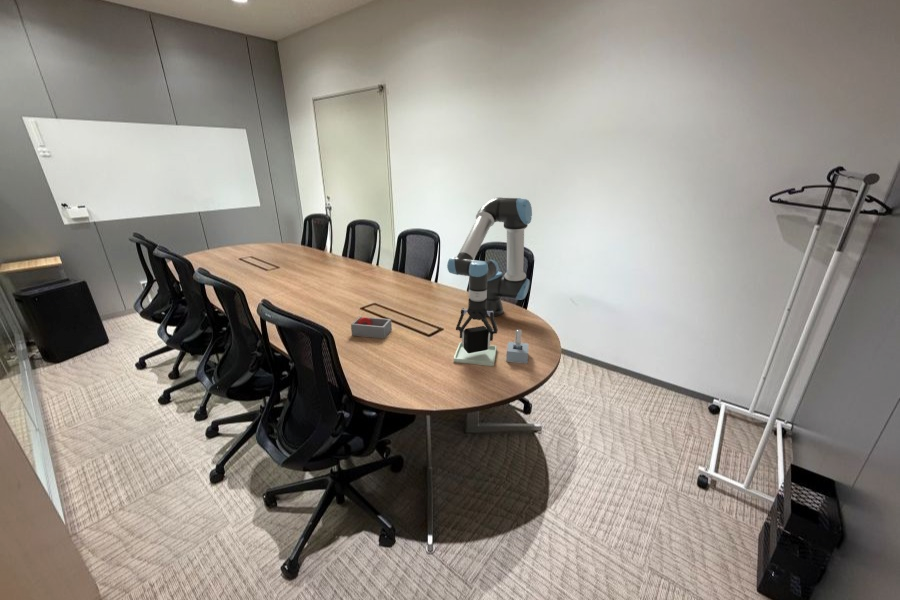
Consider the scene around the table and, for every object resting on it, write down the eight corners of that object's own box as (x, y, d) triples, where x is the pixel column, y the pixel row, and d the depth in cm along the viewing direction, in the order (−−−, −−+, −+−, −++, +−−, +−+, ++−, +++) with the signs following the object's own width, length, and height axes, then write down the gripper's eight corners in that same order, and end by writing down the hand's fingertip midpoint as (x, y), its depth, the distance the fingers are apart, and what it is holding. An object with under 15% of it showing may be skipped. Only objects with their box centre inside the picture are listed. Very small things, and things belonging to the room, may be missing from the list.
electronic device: (463, 349, 160) (463, 328, 157) (484, 345, 164) (484, 325, 160) (467, 353, 157) (467, 332, 153) (488, 349, 160) (489, 329, 156)
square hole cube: (507, 351, 165) (507, 341, 163) (527, 353, 163) (528, 343, 161) (506, 361, 156) (506, 351, 155) (527, 363, 155) (528, 353, 153)
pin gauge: (514, 353, 161) (516, 329, 156) (520, 354, 160) (521, 329, 156) (514, 356, 158) (515, 331, 154) (519, 357, 158) (521, 331, 154)
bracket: (360, 336, 179) (359, 321, 177) (358, 332, 183) (356, 318, 180) (383, 331, 185) (382, 317, 182) (381, 328, 188) (380, 314, 185)
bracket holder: (360, 327, 188) (359, 316, 186) (391, 330, 185) (391, 319, 183) (352, 335, 179) (350, 324, 177) (384, 338, 176) (383, 327, 174)
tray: (459, 345, 170) (459, 342, 169) (496, 349, 167) (496, 345, 166) (453, 361, 156) (453, 358, 155) (493, 366, 153) (493, 362, 152)
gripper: (448, 299, 150) (448, 347, 158) (504, 303, 146) (501, 352, 154) (452, 293, 157) (451, 339, 165) (506, 297, 153) (503, 344, 161)
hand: (476, 345), depth 159 cm, fingers closed on electronic device, 11 cm apart
